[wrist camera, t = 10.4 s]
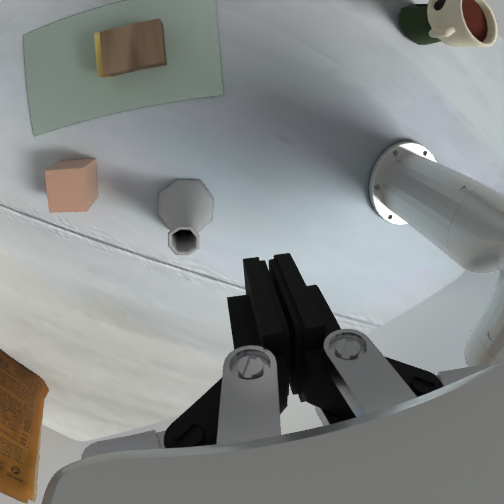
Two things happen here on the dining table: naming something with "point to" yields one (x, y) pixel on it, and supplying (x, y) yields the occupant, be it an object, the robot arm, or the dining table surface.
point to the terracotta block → (72, 185)
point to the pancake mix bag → (20, 428)
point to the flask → (185, 213)
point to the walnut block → (130, 48)
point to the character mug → (450, 23)
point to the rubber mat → (125, 85)
